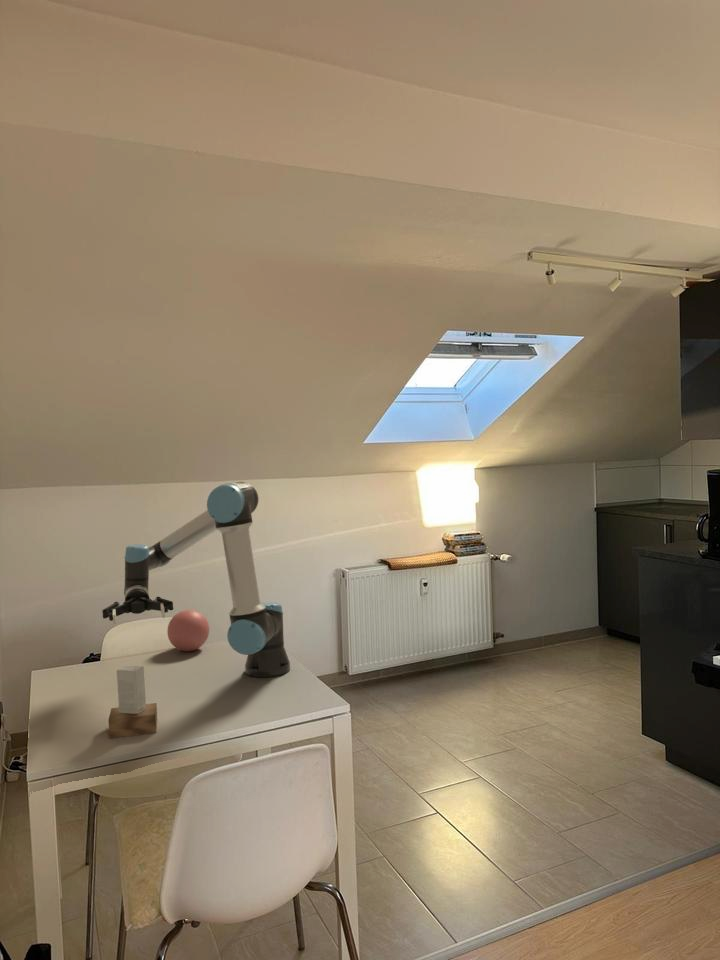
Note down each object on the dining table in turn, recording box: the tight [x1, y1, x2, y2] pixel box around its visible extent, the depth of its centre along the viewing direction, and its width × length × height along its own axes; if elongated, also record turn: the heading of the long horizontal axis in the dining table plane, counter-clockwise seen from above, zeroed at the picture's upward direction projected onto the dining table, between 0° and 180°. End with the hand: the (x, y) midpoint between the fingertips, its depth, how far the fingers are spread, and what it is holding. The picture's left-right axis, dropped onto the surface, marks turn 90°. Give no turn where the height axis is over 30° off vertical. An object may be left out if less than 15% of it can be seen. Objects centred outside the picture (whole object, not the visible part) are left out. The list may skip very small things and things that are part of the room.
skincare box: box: [116, 665, 147, 714], centre depth 197 cm, size 6×4×12 cm
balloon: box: [166, 609, 210, 652], centre depth 276 cm, size 15×20×15 cm
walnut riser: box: [108, 702, 158, 739], centre depth 198 cm, size 12×9×5 cm
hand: (139, 616), depth 210 cm, fingers open, 13 cm apart
